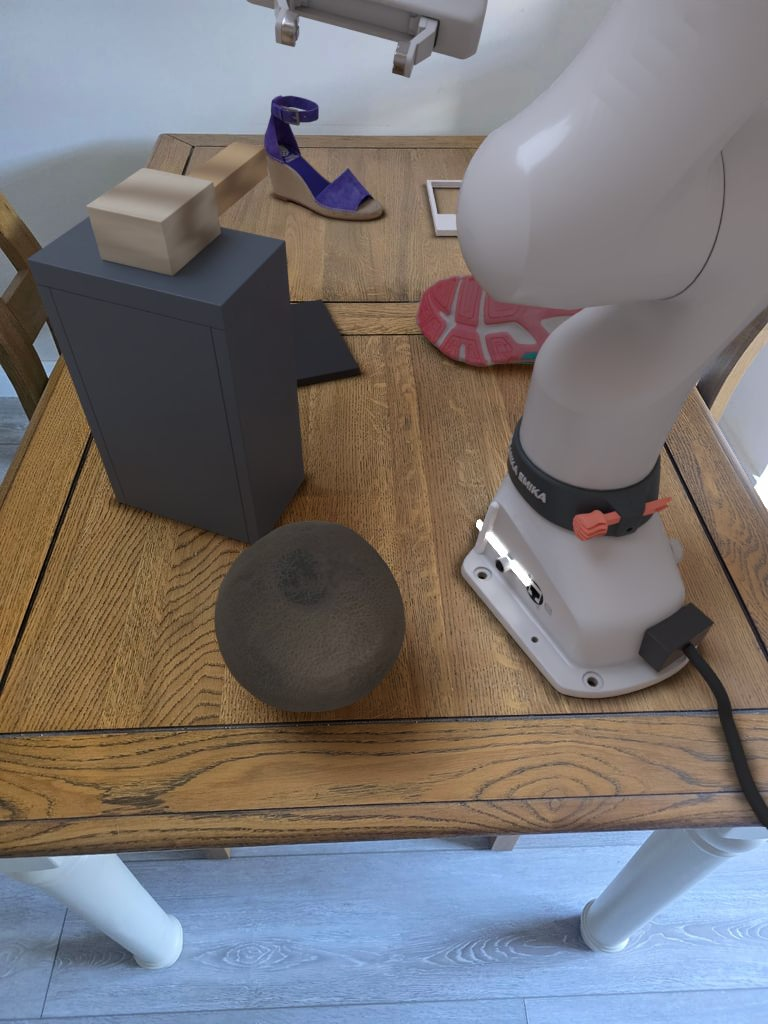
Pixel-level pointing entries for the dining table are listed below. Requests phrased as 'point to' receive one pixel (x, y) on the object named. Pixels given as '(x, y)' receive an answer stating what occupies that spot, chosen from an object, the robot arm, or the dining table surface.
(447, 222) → the photo frame
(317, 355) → the shoe mat
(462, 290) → the athletic shoe
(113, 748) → the dining table surface
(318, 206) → the sandal
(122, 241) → the wooden mallet
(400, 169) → the dining table surface
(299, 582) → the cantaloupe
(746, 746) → the dining table surface
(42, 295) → the tall grey cabinet
